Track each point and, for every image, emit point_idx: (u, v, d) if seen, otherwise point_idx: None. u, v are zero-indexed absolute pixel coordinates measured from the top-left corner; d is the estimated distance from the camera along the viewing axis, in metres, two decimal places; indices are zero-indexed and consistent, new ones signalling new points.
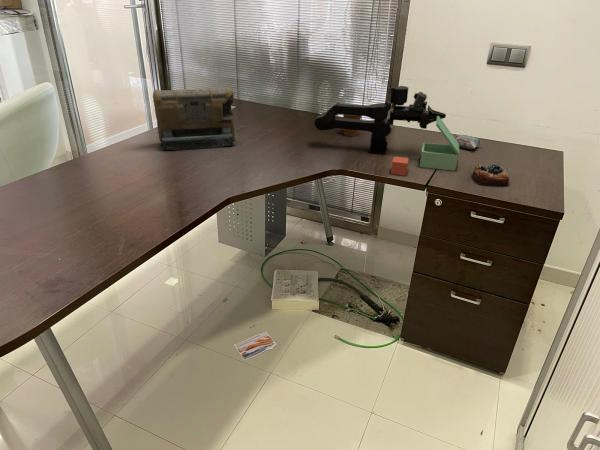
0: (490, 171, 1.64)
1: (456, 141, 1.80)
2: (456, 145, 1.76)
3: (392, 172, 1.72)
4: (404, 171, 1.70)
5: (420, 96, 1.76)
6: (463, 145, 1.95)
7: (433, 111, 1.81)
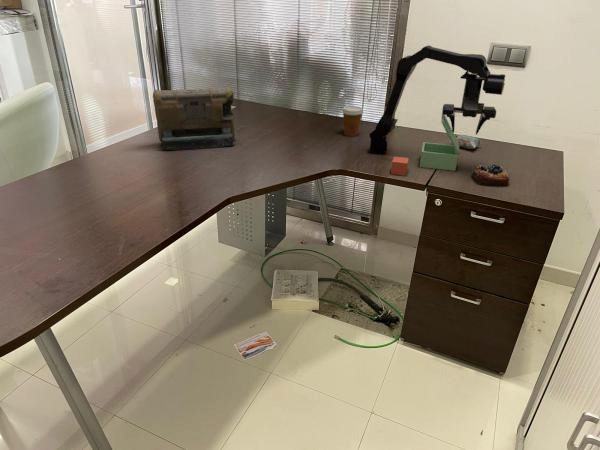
0: (490, 171, 1.64)
1: (457, 141, 1.80)
2: (457, 145, 1.75)
3: (392, 172, 1.72)
4: (404, 171, 1.70)
5: (463, 109, 1.62)
6: (463, 145, 1.95)
7: (479, 122, 1.69)
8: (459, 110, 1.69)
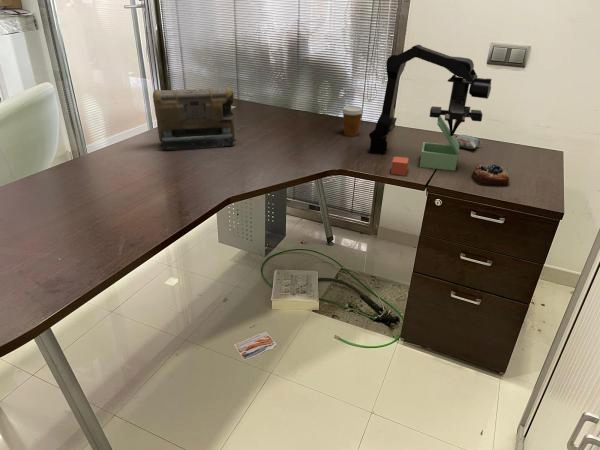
0: (490, 171, 1.64)
1: (456, 141, 1.80)
2: (456, 145, 1.76)
3: (392, 172, 1.72)
4: (404, 171, 1.70)
5: (450, 112, 1.64)
6: (463, 145, 1.95)
7: (455, 124, 1.71)
8: (446, 113, 1.70)
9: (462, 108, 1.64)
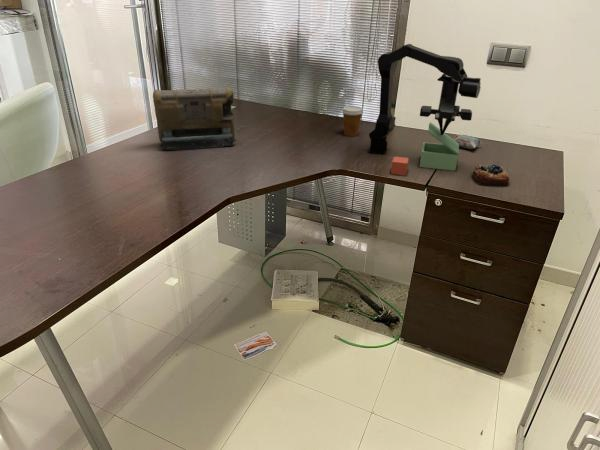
0: (490, 171, 1.64)
1: (455, 142, 1.80)
2: (455, 146, 1.76)
3: (392, 172, 1.72)
4: (404, 171, 1.70)
5: (439, 111, 1.65)
6: (463, 145, 1.95)
7: (445, 123, 1.72)
8: (436, 112, 1.71)
9: (452, 107, 1.65)
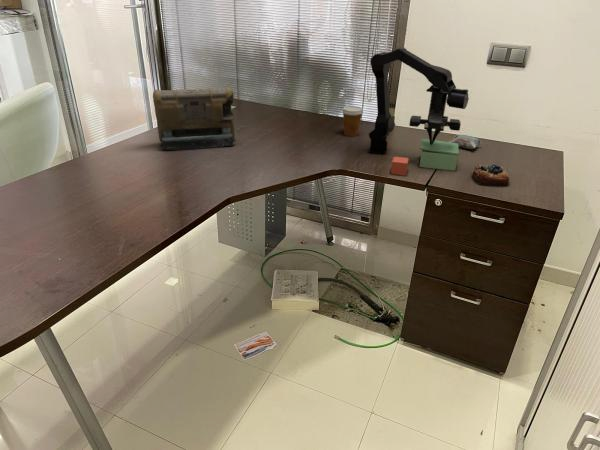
0: (490, 171, 1.64)
1: (453, 143, 1.81)
2: (453, 148, 1.76)
3: (392, 172, 1.72)
4: (404, 171, 1.70)
5: (428, 122, 1.67)
6: (463, 145, 1.95)
7: (434, 133, 1.75)
8: (425, 122, 1.74)
9: (440, 118, 1.67)
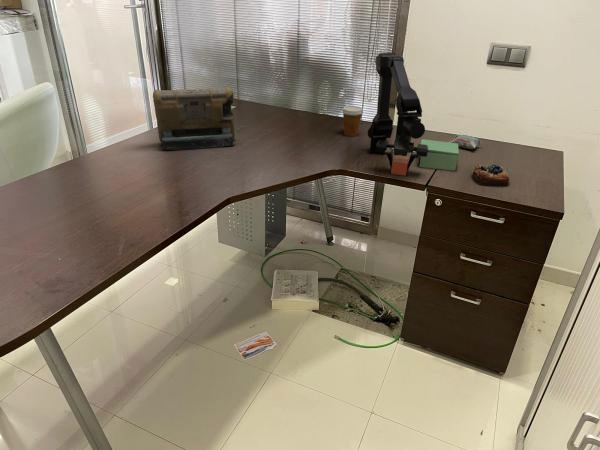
0: (490, 171, 1.64)
1: (453, 144, 1.81)
2: (453, 148, 1.76)
3: (392, 172, 1.72)
4: (404, 171, 1.70)
5: (394, 148, 1.62)
6: (463, 145, 1.95)
7: (409, 159, 1.69)
8: (392, 147, 1.69)
9: (406, 144, 1.62)
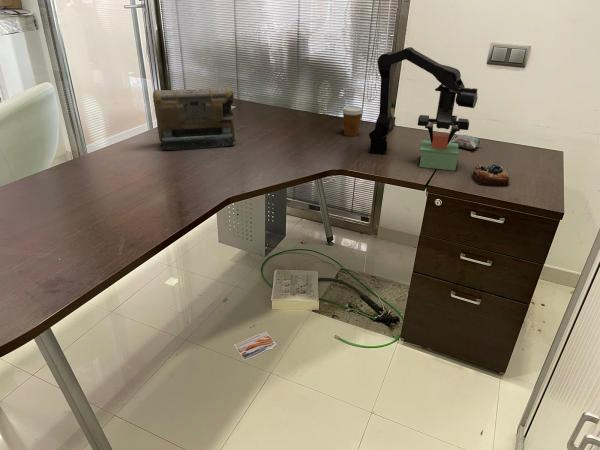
0: (490, 171, 1.64)
1: (453, 144, 1.81)
2: (453, 148, 1.76)
3: (433, 146, 1.76)
4: (445, 145, 1.74)
5: (437, 121, 1.66)
6: (463, 145, 1.95)
7: (450, 133, 1.74)
8: (434, 121, 1.73)
9: (449, 117, 1.66)
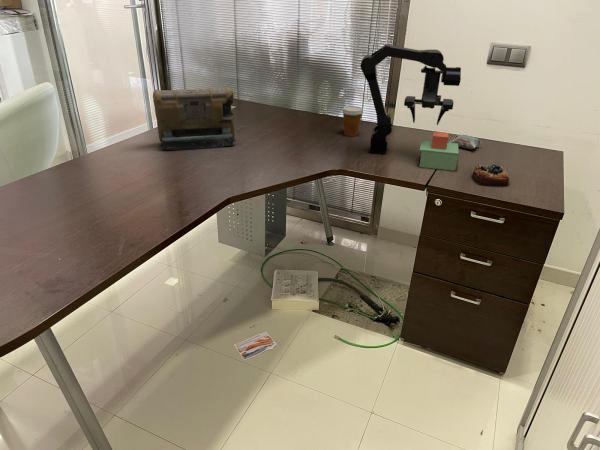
0: (490, 171, 1.64)
1: (453, 144, 1.81)
2: (453, 148, 1.76)
3: (433, 146, 1.76)
4: (445, 145, 1.75)
5: (422, 101, 1.73)
6: (463, 145, 1.95)
7: (439, 113, 1.80)
8: (419, 102, 1.80)
9: (434, 97, 1.73)
